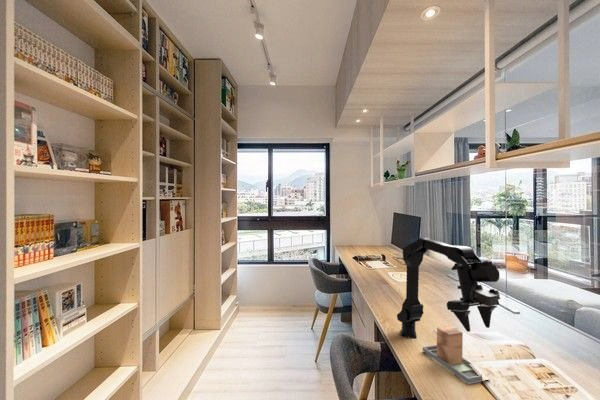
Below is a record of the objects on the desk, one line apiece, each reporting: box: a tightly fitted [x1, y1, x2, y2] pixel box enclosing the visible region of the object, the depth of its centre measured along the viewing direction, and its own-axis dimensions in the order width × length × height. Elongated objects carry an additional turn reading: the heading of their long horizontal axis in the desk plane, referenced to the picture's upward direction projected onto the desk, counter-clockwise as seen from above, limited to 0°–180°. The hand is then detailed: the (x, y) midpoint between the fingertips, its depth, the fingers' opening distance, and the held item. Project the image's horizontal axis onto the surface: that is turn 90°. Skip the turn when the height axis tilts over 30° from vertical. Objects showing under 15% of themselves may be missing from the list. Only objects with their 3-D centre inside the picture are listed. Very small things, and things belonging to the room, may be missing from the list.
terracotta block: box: [436, 325, 463, 365], centre depth 112 cm, size 6×6×11 cm
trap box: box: [422, 344, 483, 386], centre depth 110 cm, size 22×9×2 cm, turn 17°
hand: (478, 329), depth 103 cm, fingers open, 9 cm apart
